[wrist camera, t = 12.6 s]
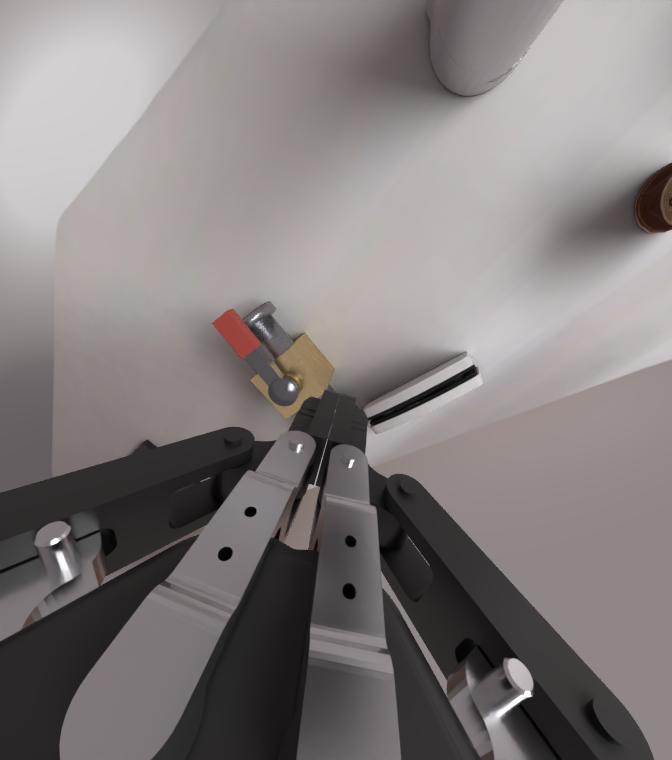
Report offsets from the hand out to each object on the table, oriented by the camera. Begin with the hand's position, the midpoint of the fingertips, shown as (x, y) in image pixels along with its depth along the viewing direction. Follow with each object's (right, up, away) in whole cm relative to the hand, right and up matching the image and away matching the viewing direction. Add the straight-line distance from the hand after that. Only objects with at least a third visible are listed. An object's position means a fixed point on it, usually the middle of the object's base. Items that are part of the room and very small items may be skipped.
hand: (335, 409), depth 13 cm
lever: (-9, +4, +20) cm, 22 cm away
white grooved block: (+12, +1, +28) cm, 31 cm away
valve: (-5, +4, +29) cm, 30 cm away
